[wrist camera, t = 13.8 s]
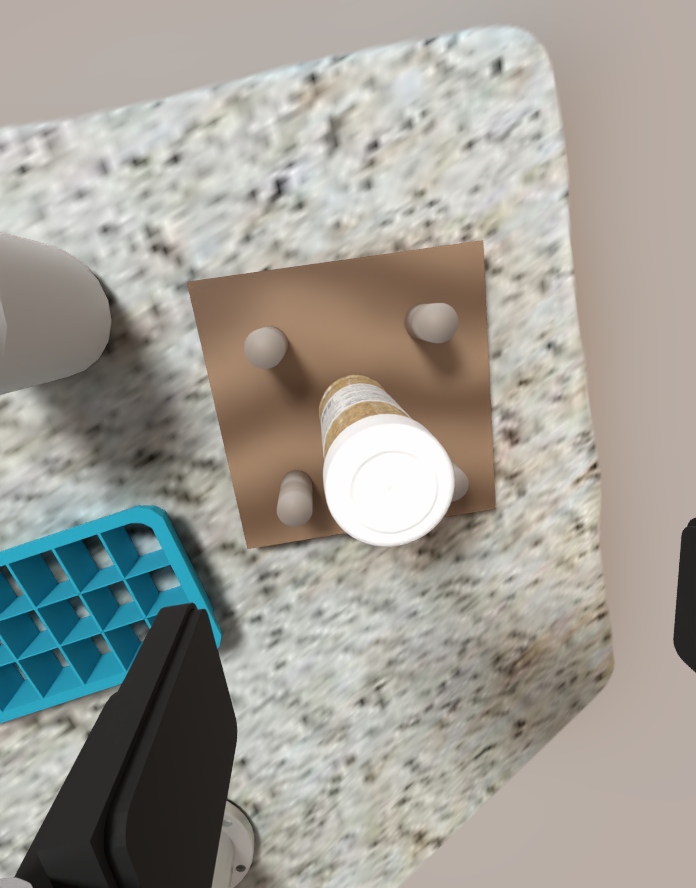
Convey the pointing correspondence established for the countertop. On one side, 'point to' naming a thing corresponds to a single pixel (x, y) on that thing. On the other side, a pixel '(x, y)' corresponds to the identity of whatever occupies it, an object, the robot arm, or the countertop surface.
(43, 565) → the ice cube tray
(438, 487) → the sprinkles bottle
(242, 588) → the countertop surface
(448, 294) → the peg board
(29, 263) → the can
